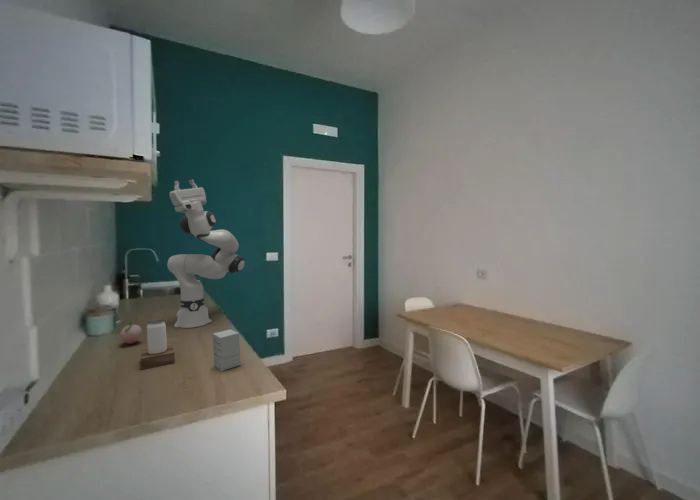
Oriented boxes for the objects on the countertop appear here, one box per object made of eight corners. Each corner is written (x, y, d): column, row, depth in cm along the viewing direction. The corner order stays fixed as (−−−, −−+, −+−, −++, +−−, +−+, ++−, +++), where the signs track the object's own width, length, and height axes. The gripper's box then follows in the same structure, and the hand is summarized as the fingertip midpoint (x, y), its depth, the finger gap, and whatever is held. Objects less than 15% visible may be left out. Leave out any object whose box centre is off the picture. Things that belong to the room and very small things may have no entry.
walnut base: (141, 360, 132) (140, 350, 132) (172, 354, 138) (172, 344, 138) (141, 369, 123) (140, 359, 123) (174, 362, 129) (174, 352, 128)
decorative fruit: (141, 345, 149) (140, 323, 149) (119, 348, 146) (118, 326, 145) (144, 339, 158) (142, 319, 157) (123, 342, 154) (122, 321, 154)
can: (170, 348, 133) (169, 319, 132) (159, 354, 126) (158, 324, 126) (155, 348, 134) (154, 319, 133) (144, 354, 127) (142, 323, 126)
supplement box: (232, 360, 130) (230, 328, 130) (240, 365, 125) (239, 332, 125) (213, 365, 125) (212, 333, 125) (221, 371, 120) (220, 337, 119)
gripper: (211, 203, 178) (203, 177, 176) (182, 208, 160) (172, 180, 157) (202, 205, 181) (194, 180, 178) (172, 211, 162) (162, 183, 159)
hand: (183, 180), depth 167 cm, fingers open, 8 cm apart
